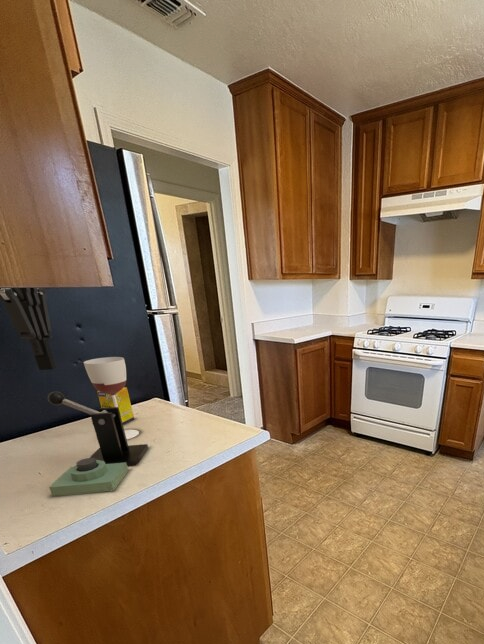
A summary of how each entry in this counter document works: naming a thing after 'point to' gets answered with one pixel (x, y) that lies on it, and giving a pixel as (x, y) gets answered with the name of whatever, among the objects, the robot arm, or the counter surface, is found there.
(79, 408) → the lever
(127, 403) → the supplement box
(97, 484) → the button box
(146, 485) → the counter surface
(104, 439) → the bracket
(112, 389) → the wineglass
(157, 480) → the counter surface
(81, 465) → the button
